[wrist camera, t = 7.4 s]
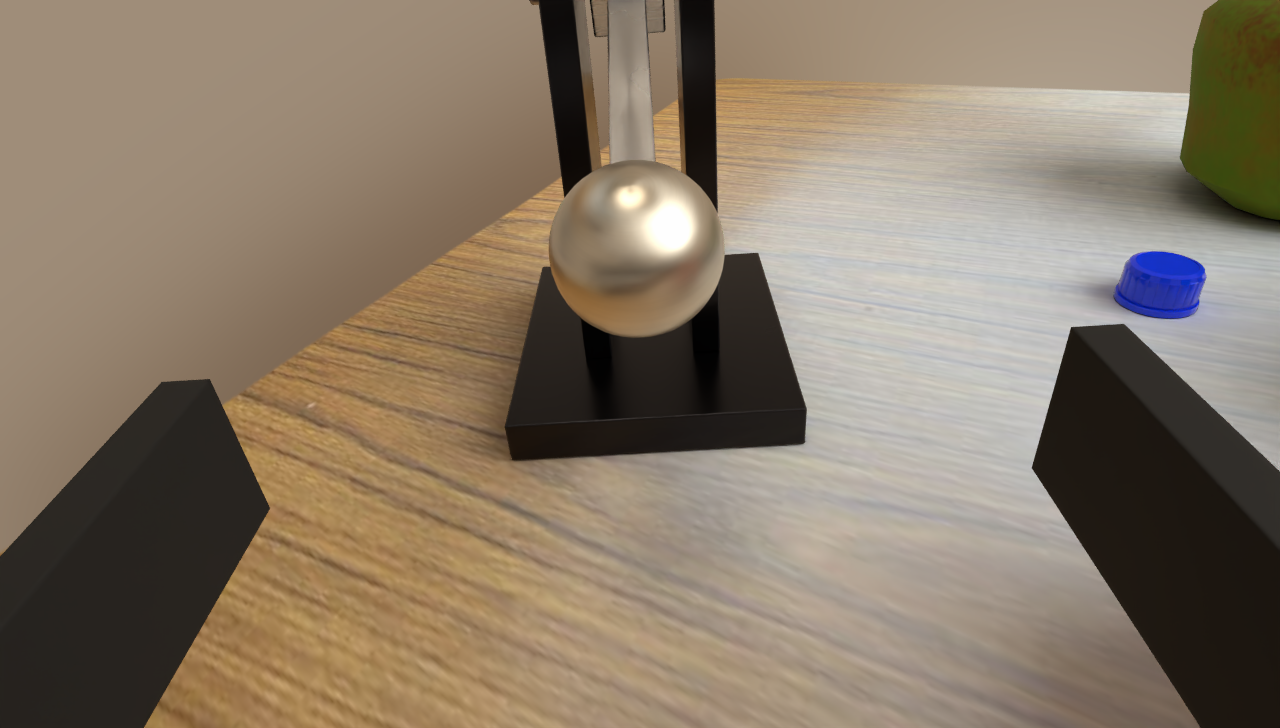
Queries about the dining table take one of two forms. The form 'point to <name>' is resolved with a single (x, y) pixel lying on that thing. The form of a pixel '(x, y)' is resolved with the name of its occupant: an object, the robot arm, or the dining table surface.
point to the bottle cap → (1161, 285)
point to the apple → (1237, 105)
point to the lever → (634, 206)
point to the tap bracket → (664, 364)
